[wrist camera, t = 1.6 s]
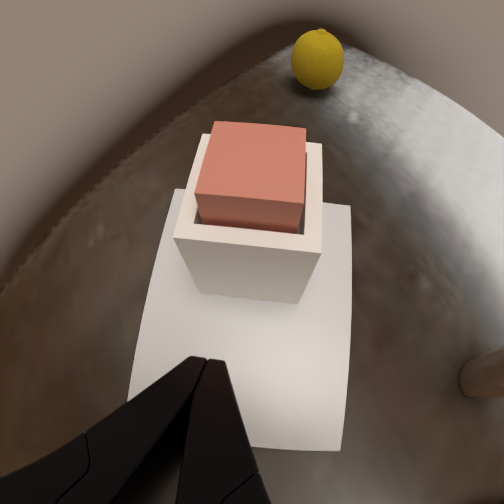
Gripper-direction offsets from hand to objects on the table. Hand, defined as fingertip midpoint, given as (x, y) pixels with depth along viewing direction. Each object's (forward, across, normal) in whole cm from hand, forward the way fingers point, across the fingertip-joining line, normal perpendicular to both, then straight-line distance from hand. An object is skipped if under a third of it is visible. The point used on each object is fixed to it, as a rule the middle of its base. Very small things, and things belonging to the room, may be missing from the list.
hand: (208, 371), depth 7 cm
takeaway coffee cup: (+10, -18, +9) cm, 23 cm away
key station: (+13, 0, +6) cm, 14 cm away
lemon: (+31, -4, -12) cm, 34 cm away
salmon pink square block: (+10, 0, -2) cm, 11 cm away
